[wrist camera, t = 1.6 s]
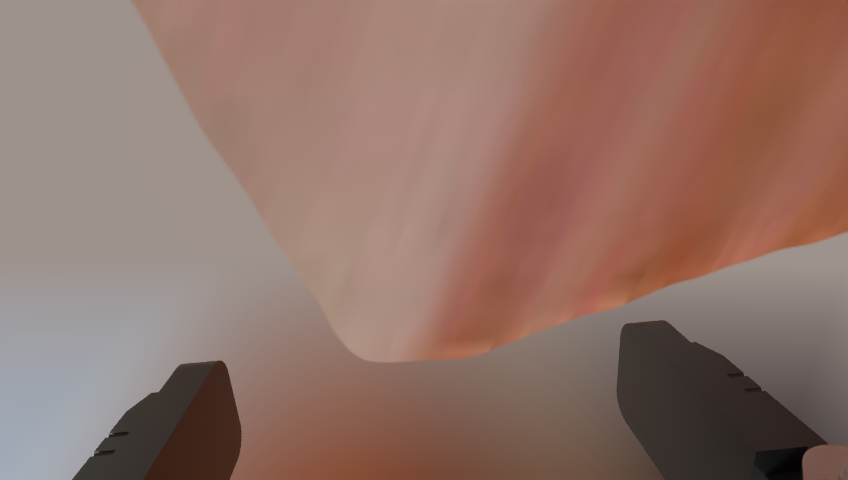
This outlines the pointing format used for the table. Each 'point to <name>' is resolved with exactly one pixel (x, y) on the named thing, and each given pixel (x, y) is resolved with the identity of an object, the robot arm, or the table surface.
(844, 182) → the table surface
